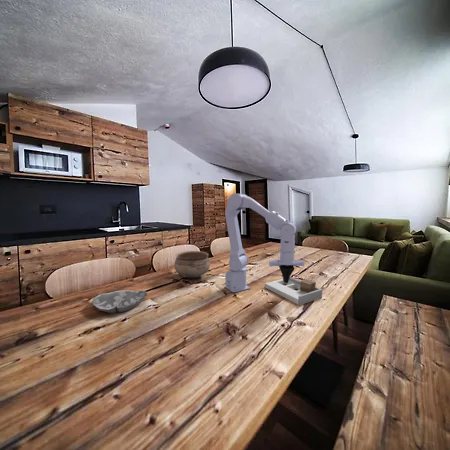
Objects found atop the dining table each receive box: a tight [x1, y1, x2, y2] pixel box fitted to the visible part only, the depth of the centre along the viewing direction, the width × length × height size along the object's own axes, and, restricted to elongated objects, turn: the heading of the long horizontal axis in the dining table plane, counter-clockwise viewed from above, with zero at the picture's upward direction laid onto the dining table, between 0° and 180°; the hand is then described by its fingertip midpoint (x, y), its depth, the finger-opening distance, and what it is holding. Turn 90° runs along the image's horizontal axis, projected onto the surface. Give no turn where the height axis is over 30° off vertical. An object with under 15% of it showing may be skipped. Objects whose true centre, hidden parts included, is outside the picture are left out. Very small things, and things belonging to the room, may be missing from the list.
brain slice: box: [90, 289, 147, 314], centre depth 85 cm, size 20×17×3 cm
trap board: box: [264, 276, 323, 306], centre depth 98 cm, size 14×21×4 cm, turn 31°
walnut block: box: [299, 278, 317, 293], centre depth 95 cm, size 4×4×4 cm
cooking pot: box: [173, 250, 211, 280], centre depth 117 cm, size 25×19×12 cm
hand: (285, 282), depth 93 cm, fingers closed
